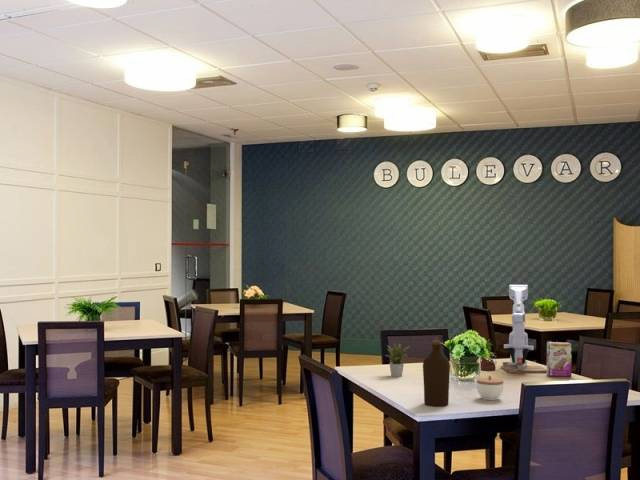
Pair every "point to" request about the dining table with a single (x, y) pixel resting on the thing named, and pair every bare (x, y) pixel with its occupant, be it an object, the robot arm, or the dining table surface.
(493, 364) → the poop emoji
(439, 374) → the olive oil
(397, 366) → the house plant
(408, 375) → the dining table surface
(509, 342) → the robot arm
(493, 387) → the lidded jar
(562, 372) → the candy bar box
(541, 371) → the board
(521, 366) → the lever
